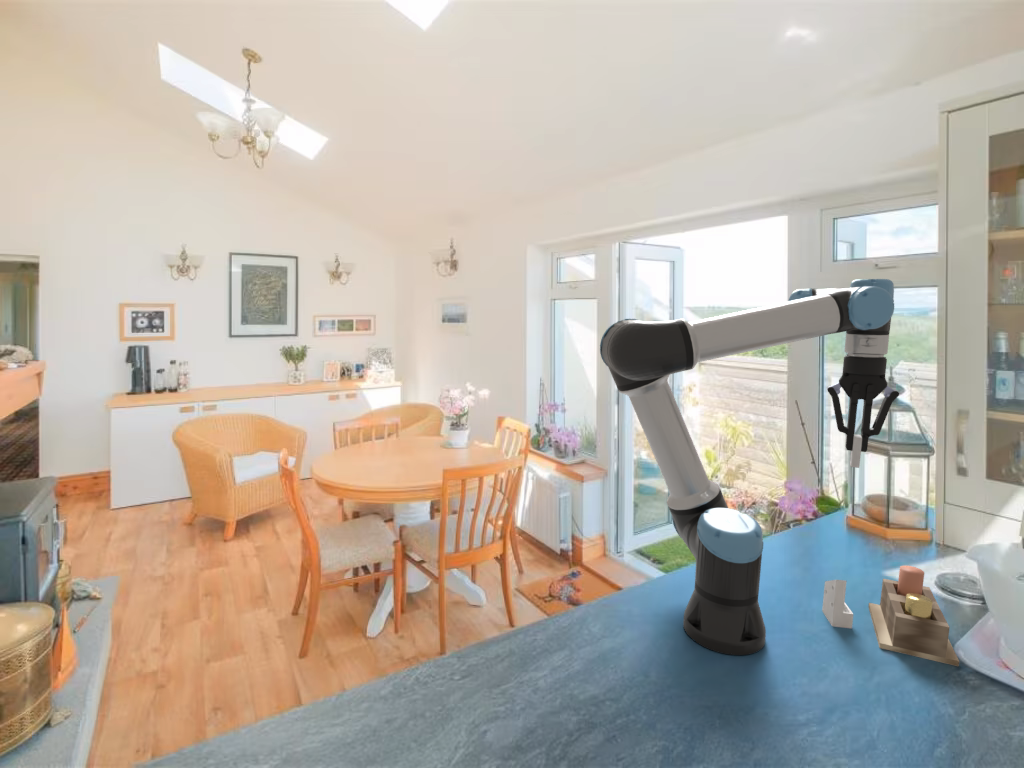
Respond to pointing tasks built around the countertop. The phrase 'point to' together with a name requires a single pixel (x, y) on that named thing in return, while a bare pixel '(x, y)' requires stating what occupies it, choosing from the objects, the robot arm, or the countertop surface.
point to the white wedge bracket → (836, 604)
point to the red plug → (910, 580)
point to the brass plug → (918, 606)
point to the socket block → (911, 627)
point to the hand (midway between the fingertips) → (854, 465)
